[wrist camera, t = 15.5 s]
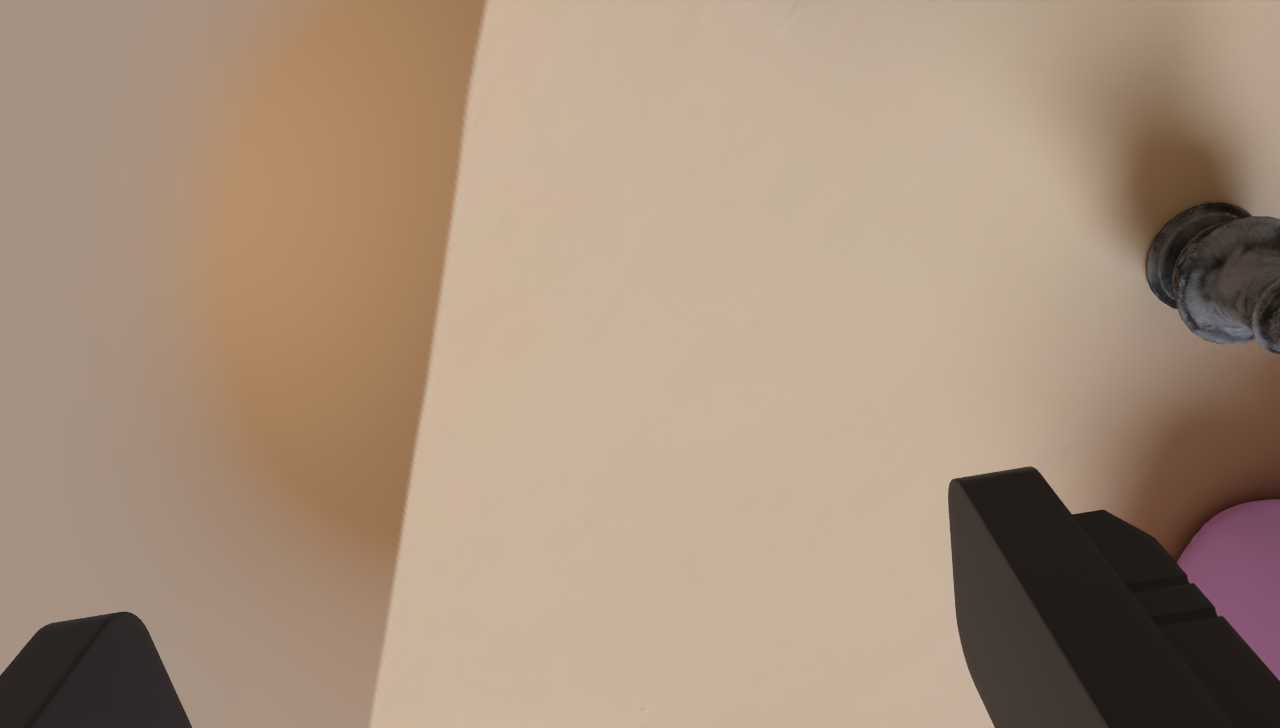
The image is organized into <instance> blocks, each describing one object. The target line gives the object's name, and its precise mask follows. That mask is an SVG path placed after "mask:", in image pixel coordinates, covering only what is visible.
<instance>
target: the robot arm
mask: <svg viewBox="0 0 1280 728" xmlns="http://www.w3.org/2000/svg"><path fill="white" fill-rule="evenodd" d="M948 504H949V519H950V534H951V549H952V563H953V578H954V592H955V607H956V618H957V625H958V630H959V636H960V640H961V645H962V649H963V652H964V656H965V659H966V663H967V666H968V669H969V671H970V674H971V677H972V679H973V681H974V684H975V686H976V688H977V690H978V692H979V694H980V697H981V699H982V701H983V703H984V705H985V707H986V709H987V712H988V714H989V716H990V718H991V720H992V722H993V724H994V727H995V728H1280V681H1279V680H1278V678H1277V677H1276V676H1275V675H1274V674H1273V673H1272V672H1271V670H1270V669H1269V668H1268V667H1267V666H1266V665H1265V664H1264V662H1263V661H1262V660H1261V659H1260V658H1259V657H1258V656H1257V654H1256V653H1255V652H1254V651H1253V650H1252V649H1251V648H1250V646H1249V645H1248V644H1247V643H1246V642H1245V641H1244V640H1243V638H1242V637H1241V636H1240V635H1239V634H1238V633H1237V632H1236V630H1235V629H1234V628H1233V627H1232V626H1231V625H1230V624H1229V622H1228V621H1227V620H1226V619H1225V618H1224V617H1223V616H1218V615H1217V613H1216V610H1215V606H1214V605H1213V604H1212V603H1211V602H1210V601H1209V600H1208V598H1207V597H1206V596H1205V595H1204V594H1203V593H1202V591H1201V590H1200V589H1199V588H1198V587H1197V586H1196V585H1195V583H1189V581H1188V578H1187V574H1186V573H1185V572H1184V571H1183V570H1182V569H1181V567H1180V566H1179V565H1178V564H1177V563H1176V562H1175V561H1174V559H1173V558H1172V557H1171V556H1170V555H1169V554H1168V553H1167V551H1166V550H1165V549H1164V548H1163V547H1162V546H1161V545H1160V543H1159V542H1158V541H1157V540H1156V539H1155V538H1154V537H1152V536H1151V535H1149V534H1147V533H1145V532H1143V531H1141V530H1140V529H1138V528H1136V527H1134V526H1132V525H1131V524H1129V523H1127V522H1125V521H1123V520H1121V519H1120V518H1118V517H1116V516H1114V515H1112V514H1111V513H1109V512H1107V511H1105V510H1098V511H1092V512H1086V513H1079V514H1073V515H1072V514H1071V513H1070V512H1069V510H1068V509H1067V508H1066V506H1065V505H1064V504H1063V502H1062V501H1061V500H1060V499H1059V497H1058V496H1057V495H1056V493H1055V492H1054V491H1053V489H1052V488H1051V487H1050V486H1049V484H1048V483H1047V482H1046V480H1045V479H1044V478H1043V476H1042V475H1041V474H1040V473H1039V472H1038V470H1037V469H1035V468H1034V467H1024V468H1018V469H1012V470H1005V471H999V472H993V473H987V474H981V475H975V476H968V477H962V478H956V479H952V480H951V482H950V485H949V491H948ZM0 728H192V726H191V724H190V722H189V720H188V717H187V715H186V713H185V711H184V709H183V706H182V705H181V702H180V700H179V698H178V695H177V693H176V691H175V689H174V687H173V685H172V682H171V680H170V678H169V676H168V674H167V671H166V669H165V667H164V665H163V663H162V660H161V659H160V656H159V654H158V652H157V650H156V647H155V645H154V643H153V641H152V639H151V636H150V634H149V632H148V630H147V628H146V626H145V625H144V624H143V622H142V621H141V620H140V619H139V618H138V617H137V616H136V615H134V614H132V613H129V612H118V613H111V614H106V615H99V616H94V617H87V618H81V619H75V620H68V621H62V622H56V623H51V624H48V625H46V626H44V627H43V628H41V629H40V630H39V631H38V632H37V633H36V634H35V635H34V636H33V637H32V638H31V640H30V641H29V642H28V643H27V644H26V646H25V647H24V648H23V649H22V650H21V652H20V653H19V654H18V655H17V656H16V658H15V659H14V660H13V661H12V662H11V664H10V665H9V666H8V667H7V669H6V670H5V671H4V672H3V673H2V674H1V676H0Z"/></svg>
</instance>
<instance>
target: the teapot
mask: <svg viewBox="0 0 1280 728" xmlns="http://www.w3.org/2000/svg"><path fill="white" fill-rule="evenodd" d="M1177 564H1178V565H1179V566H1180V567H1181V569H1182V570H1183V571H1184V572H1185V573H1186V574H1187V578H1188V581H1189V583H1195V585H1196V586H1197V587H1198V588H1199V589H1200V590H1201V591H1202V593H1203V594H1204V595H1205V596H1206V597H1207V598H1208V600H1209V601H1210V602H1211V603H1212V604H1213V605H1214V606H1215V610H1216V613H1217V615H1218V616H1223V617H1224V618H1225V619H1226V620H1227V621H1228V622H1229V624H1230V625H1231V626H1232V627H1233V628H1234V629H1235V630H1236V632H1237V633H1238V634H1239V635H1240V636H1241V637H1242V638H1243V640H1244V641H1245V642H1246V643H1247V644H1248V645H1249V646H1250V648H1251V649H1252V650H1253V651H1254V652H1255V653H1256V654H1257V656H1258V657H1259V658H1260V659H1261V660H1262V661H1263V662H1264V664H1265V665H1266V666H1267V667H1268V668H1269V669H1270V670H1271V672H1272V673H1273V674H1274V675H1275V676H1276V677H1277V678H1278V680H1279V681H1280V499H1271V500H1261V501H1254V502H1247V503H1243V504H1239V505H1236V506H1233V507H1230V508H1228V509H1226V510H1224V511H1222V512H1220V513H1219V514H1217V515H1215V516H1214V517H1212V518H1211V519H1210V520H1209V521H1208V522H1207V523H1206V524H1204V525H1203V527H1202V528H1201V529H1200V530H1199V531H1198V532H1197V534H1196V535H1195V536H1194V537H1193V538H1192V540H1191V541H1190V543H1189V544H1188V546H1187V547H1186V549H1185V550H1184V551H1183V553H1182V554H1181V556H1180V558H1179V559H1178V561H1177Z"/></svg>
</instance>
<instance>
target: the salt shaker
mask: <svg viewBox="0 0 1280 728" xmlns="http://www.w3.org/2000/svg"><path fill="white" fill-rule="evenodd" d="M1146 269H1147V279H1148V282H1149V284H1150V287H1151V289H1152V291H1153V292H1154V294H1155V295H1156V296H1157V297H1158V298H1159V299H1160V300H1161V301H1162V302H1164V303H1165V304H1167V305H1169V306H1170V307H1172V308H1175V309H1178V311H1179V314H1180V316H1181V319H1182V321H1183V322H1184V323H1185V324H1186V326H1187V327H1188V328H1189V329H1190V330H1191V331H1192V332H1193V333H1195V334H1196V335H1198V336H1200V337H1201V338H1203V339H1204V340H1207V341H1211V342H1214V343H1218V344H1242V343H1246V342H1250V341H1254V340H1256V341H1257V342H1258V343H1259V344H1260V346H1262V347H1263V348H1265V349H1266V350H1268V351H1269V352H1272V353H1276V354H1279V355H1280V219H1276V218H1272V217H1251V215H1250V214H1248V213H1247V212H1245V211H1243V210H1242V209H1240V208H1239V207H1236V206H1233V205H1229V204H1226V203H1207V204H1203V205H1199V206H1195V207H1192V208H1190V209H1188V210H1186V211H1184V212H1182V213H1180V214H1178V215H1177V216H1176V217H1175V218H1173V219H1172V220H1171V221H1170V222H1168V223H1167V224H1166V225H1165V226H1164V228H1163V229H1162V230H1161V231H1160V232H1159V234H1158V235H1157V236H1156V238H1155V240H1154V242H1153V244H1152V246H1151V248H1150V250H1149V254H1148V259H1147V264H1146Z"/></svg>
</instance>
